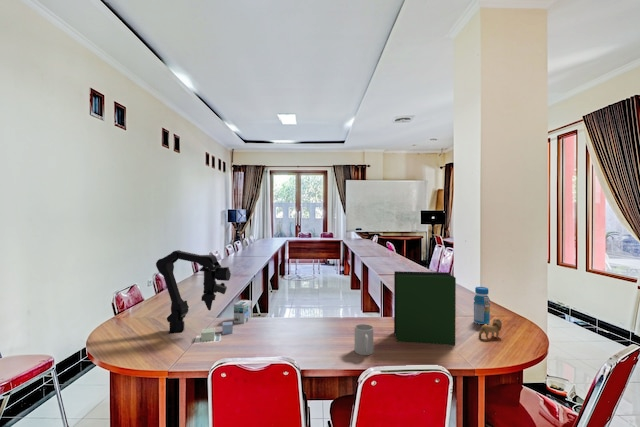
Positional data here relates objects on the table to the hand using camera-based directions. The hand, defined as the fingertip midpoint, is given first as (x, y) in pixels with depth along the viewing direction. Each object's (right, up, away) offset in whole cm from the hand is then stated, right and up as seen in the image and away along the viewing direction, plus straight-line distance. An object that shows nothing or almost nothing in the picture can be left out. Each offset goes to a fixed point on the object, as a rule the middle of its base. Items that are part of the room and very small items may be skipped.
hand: (209, 310), depth 173 cm
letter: (+2, -12, -8) cm, 14 cm away
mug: (+77, -13, -23) cm, 81 cm away
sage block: (+2, -12, -8) cm, 14 cm away
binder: (+108, -13, -5) cm, 109 cm away
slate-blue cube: (+9, -12, +1) cm, 15 cm away
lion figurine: (+143, -13, -4) cm, 143 cm away
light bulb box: (+12, -12, +21) cm, 27 cm away
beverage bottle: (+149, -13, +18) cm, 151 cm away
